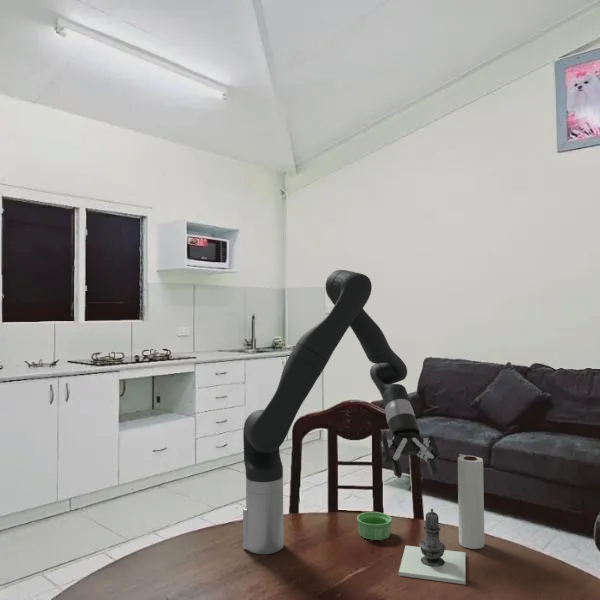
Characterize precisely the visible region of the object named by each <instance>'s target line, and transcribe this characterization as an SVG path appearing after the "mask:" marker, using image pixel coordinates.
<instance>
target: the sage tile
mask: <svg viewBox="0 0 600 600" xmlns="http://www.w3.org/2000/svg"><path fill="white" fill-rule="evenodd" d="M422 557H424V555H423V553H422V551H421V547H420V546H414V545H413V546H412V545H405V547H404V550H403V554H402V558H401V561H400V566H399V569H398V576H401V577H407V578H414V579H422V580H430V581H437V582H445V583H452V584H459V585H466V552H464V551H456V550H448V549H447V550H446V549H445V550H444V554H443V556H442V557H440V558H442V559H443V560H444V562H445V563H444V565H442V566H439V567H431V566H427V565H425V564H423V563H422V562H421V558H422Z"/></svg>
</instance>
